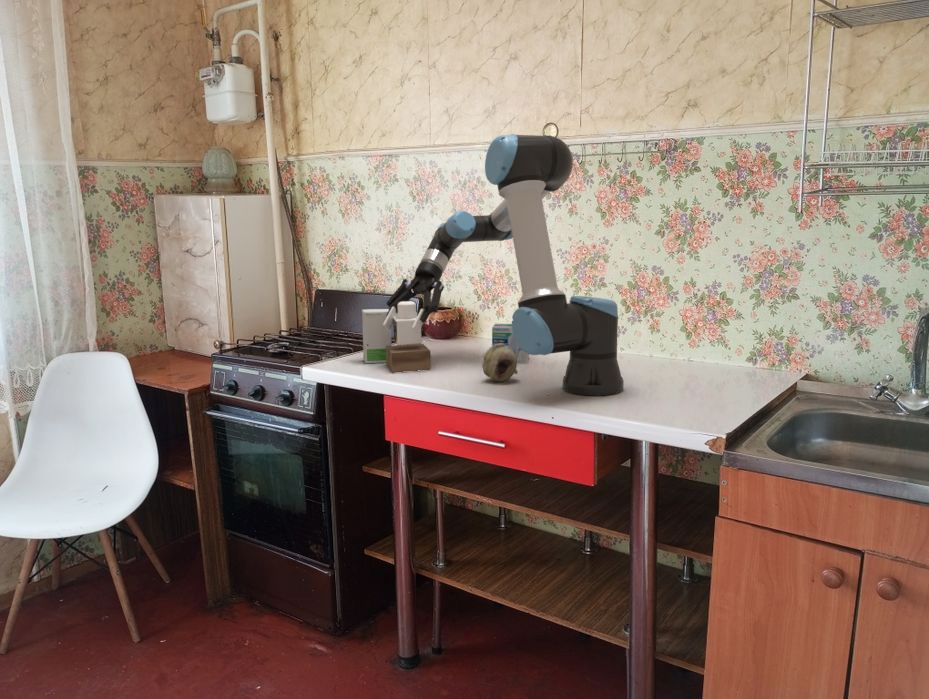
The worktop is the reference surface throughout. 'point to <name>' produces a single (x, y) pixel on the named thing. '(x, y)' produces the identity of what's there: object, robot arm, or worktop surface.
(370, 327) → the skincare box
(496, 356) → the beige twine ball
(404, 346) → the walnut block
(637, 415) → the worktop surface
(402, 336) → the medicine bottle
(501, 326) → the light bulb box
